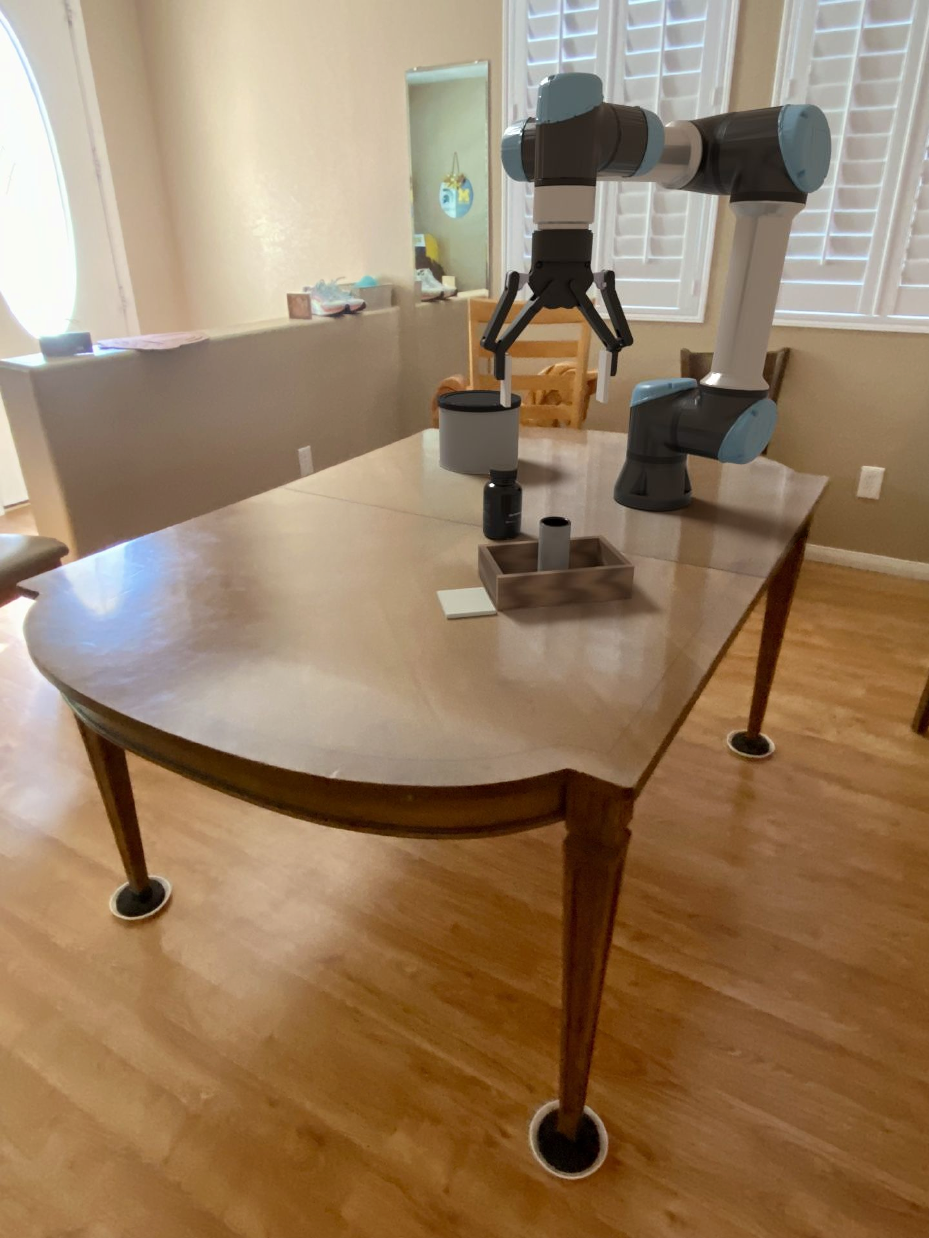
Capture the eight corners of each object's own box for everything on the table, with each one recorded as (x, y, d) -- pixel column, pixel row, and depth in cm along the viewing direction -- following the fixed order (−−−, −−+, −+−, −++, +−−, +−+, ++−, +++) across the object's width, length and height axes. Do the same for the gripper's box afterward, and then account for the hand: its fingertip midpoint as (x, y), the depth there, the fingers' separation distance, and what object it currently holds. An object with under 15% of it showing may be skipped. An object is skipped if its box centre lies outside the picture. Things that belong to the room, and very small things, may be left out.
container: (521, 474, 169) (523, 405, 162) (436, 474, 169) (435, 405, 162) (517, 452, 186) (519, 389, 179) (439, 452, 186) (438, 389, 179)
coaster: (483, 590, 114) (483, 586, 113) (495, 613, 107) (495, 610, 106) (436, 594, 112) (436, 590, 112) (446, 618, 105) (446, 614, 105)
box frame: (599, 564, 122) (602, 535, 120) (631, 598, 111) (634, 566, 109) (478, 574, 119) (478, 544, 117) (497, 610, 108) (498, 578, 105)
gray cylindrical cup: (570, 582, 116) (574, 518, 112) (563, 594, 112) (567, 528, 108) (540, 578, 118) (543, 514, 113) (533, 590, 114) (536, 524, 109)
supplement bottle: (518, 542, 132) (520, 474, 126) (479, 539, 133) (479, 471, 127) (523, 528, 138) (525, 463, 132) (486, 526, 139) (486, 461, 133)
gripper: (646, 227, 99) (630, 394, 109) (457, 227, 95) (458, 401, 105) (670, 227, 93) (651, 405, 102) (469, 227, 89) (469, 412, 98)
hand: (554, 403), depth 104 cm, fingers open, 13 cm apart
